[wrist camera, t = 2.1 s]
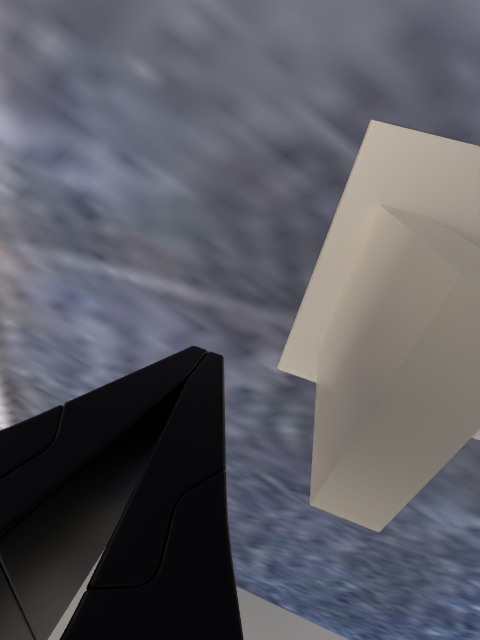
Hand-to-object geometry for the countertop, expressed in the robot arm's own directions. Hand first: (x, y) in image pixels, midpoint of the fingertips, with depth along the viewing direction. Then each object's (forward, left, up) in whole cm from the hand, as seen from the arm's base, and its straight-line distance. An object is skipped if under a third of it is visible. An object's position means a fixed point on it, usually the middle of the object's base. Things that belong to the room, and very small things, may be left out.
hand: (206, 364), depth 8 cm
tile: (-5, 0, -10) cm, 11 cm away
